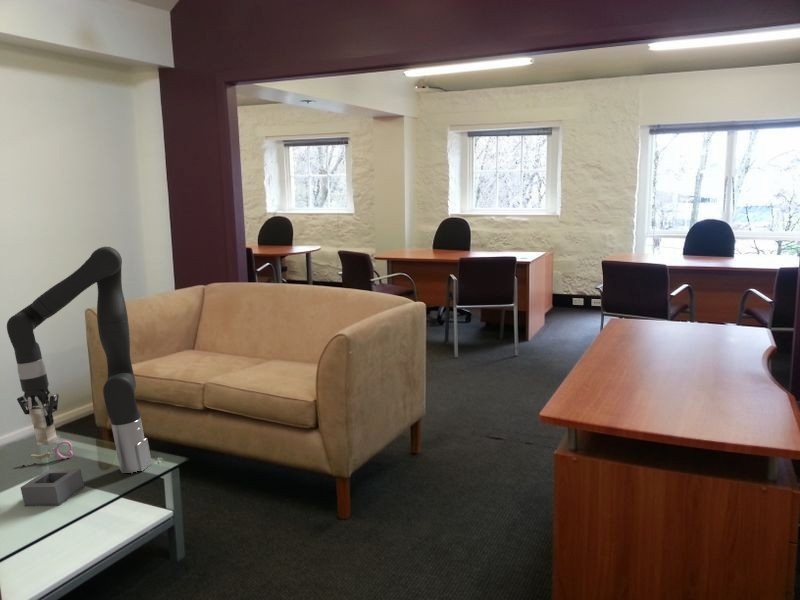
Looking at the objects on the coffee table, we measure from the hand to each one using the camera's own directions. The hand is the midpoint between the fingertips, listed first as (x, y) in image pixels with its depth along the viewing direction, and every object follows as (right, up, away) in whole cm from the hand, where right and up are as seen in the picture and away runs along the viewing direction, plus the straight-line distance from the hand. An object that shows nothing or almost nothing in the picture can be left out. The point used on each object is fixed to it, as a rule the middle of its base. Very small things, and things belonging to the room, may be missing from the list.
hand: (43, 425), depth 205 cm
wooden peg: (+1, -6, +1) cm, 6 cm away
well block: (+6, -22, -4) cm, 23 cm away
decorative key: (-14, -19, +26) cm, 35 cm away
